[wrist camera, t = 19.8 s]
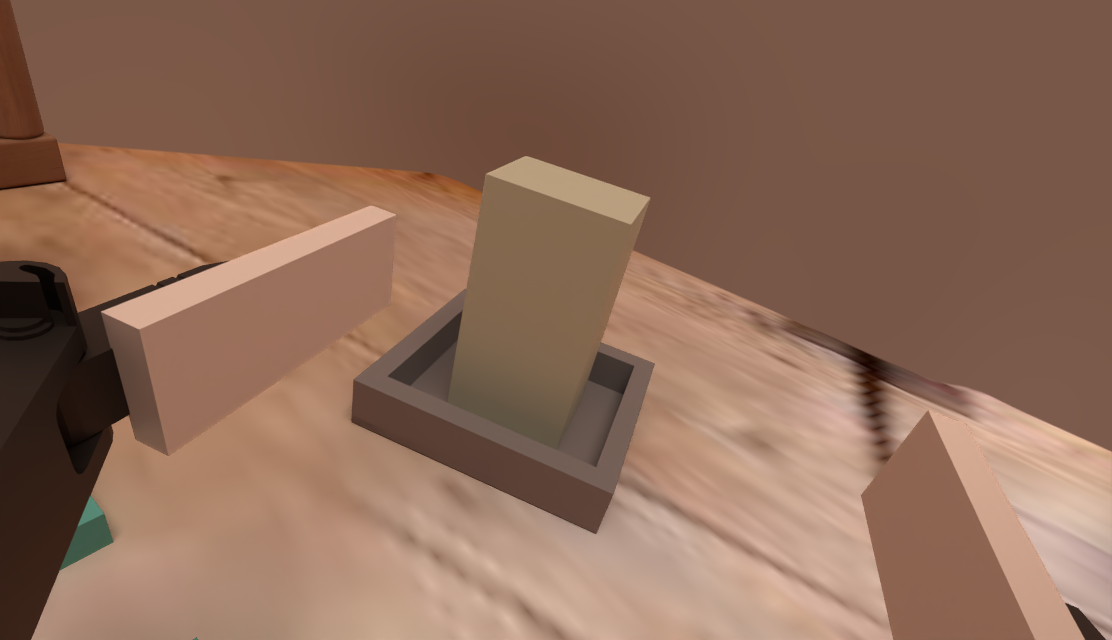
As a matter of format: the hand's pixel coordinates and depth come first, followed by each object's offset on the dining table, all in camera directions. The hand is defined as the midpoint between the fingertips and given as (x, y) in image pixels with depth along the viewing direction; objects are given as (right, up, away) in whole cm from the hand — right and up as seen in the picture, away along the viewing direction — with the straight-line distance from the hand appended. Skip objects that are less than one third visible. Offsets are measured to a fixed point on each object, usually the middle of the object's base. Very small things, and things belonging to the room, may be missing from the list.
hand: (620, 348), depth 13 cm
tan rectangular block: (-4, -4, +20) cm, 20 cm away
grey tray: (-4, -5, +20) cm, 21 cm away
